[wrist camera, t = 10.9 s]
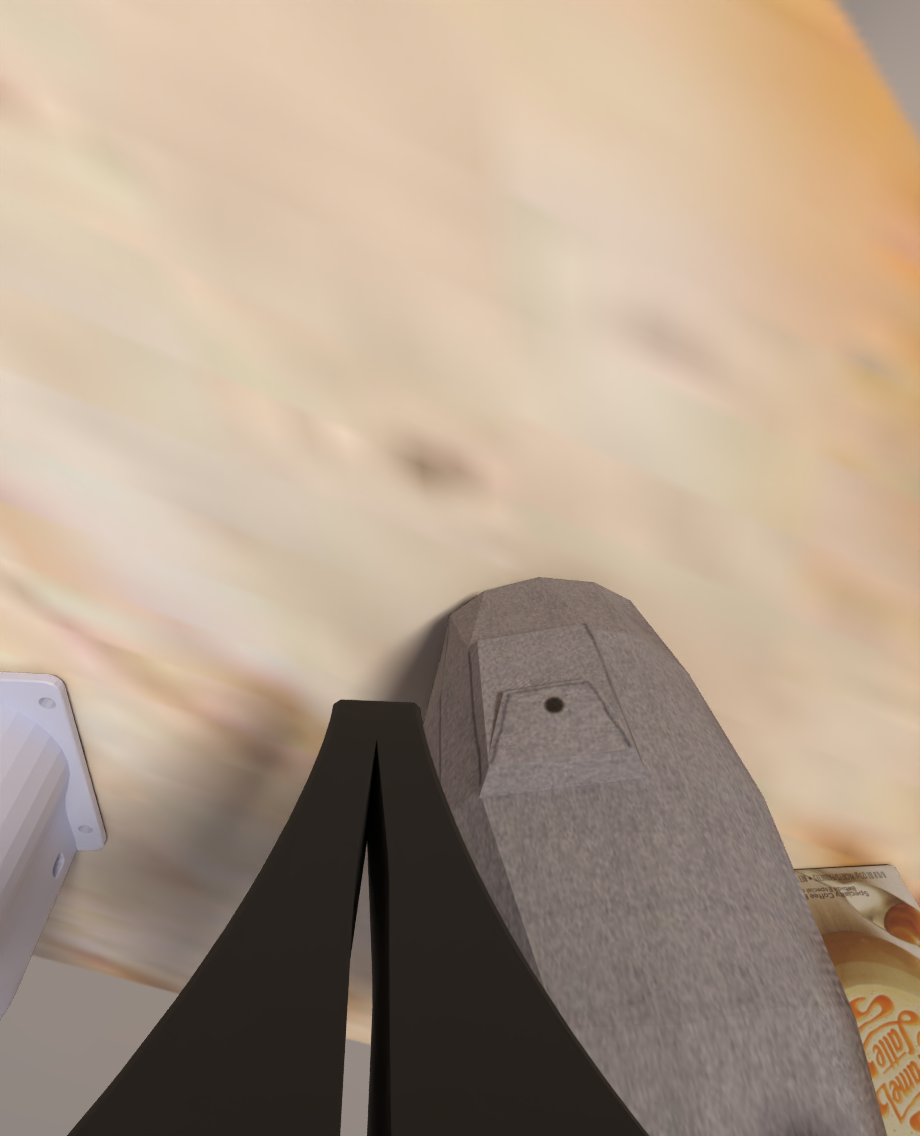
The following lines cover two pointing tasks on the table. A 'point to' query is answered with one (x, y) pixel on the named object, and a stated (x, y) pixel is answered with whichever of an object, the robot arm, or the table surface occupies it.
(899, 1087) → the coffee box
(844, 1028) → the grey rounded bag
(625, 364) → the table surface
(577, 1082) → the robot arm
